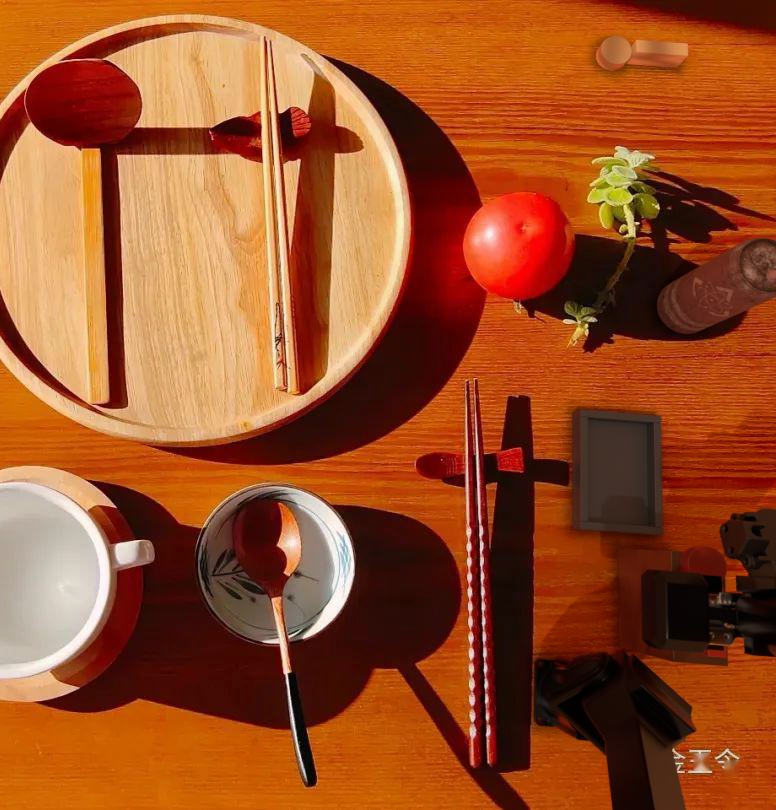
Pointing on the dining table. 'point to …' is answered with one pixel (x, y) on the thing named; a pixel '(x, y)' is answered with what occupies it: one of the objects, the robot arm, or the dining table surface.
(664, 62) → the birch spoon
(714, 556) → the red spoon
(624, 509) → the tray
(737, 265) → the can
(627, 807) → the robot arm
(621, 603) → the stand
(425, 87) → the dining table surface
